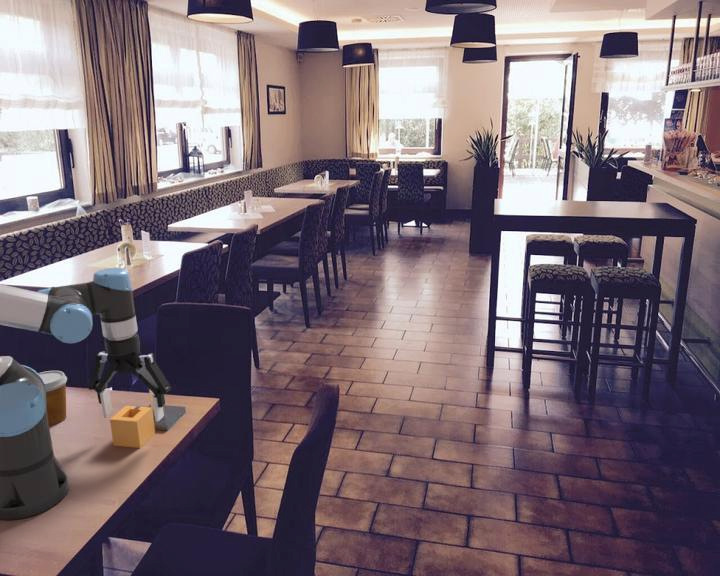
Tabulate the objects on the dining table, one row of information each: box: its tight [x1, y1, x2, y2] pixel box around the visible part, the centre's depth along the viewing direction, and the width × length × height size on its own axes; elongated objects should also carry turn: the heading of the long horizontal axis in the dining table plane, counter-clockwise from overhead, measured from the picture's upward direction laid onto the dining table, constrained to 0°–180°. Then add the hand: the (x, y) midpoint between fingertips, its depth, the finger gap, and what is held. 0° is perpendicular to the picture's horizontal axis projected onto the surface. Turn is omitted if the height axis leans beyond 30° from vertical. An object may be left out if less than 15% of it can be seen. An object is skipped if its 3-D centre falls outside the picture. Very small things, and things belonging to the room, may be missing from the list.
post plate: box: [147, 388, 187, 432], centre depth 154 cm, size 10×10×10 cm
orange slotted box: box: [109, 405, 156, 449], centre depth 145 cm, size 7×7×7 cm
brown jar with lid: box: [37, 370, 68, 426], centre depth 155 cm, size 10×10×12 cm
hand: (134, 417), depth 145 cm, fingers open, 13 cm apart
